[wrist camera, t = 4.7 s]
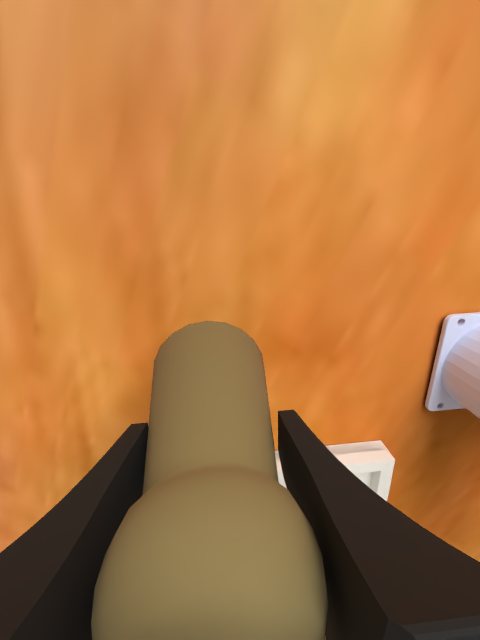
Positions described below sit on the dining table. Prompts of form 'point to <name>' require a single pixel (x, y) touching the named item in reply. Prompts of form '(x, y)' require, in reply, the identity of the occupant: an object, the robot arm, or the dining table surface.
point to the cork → (211, 511)
